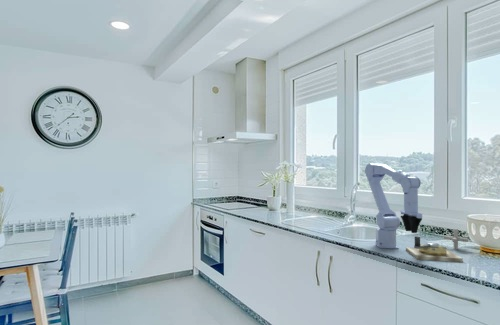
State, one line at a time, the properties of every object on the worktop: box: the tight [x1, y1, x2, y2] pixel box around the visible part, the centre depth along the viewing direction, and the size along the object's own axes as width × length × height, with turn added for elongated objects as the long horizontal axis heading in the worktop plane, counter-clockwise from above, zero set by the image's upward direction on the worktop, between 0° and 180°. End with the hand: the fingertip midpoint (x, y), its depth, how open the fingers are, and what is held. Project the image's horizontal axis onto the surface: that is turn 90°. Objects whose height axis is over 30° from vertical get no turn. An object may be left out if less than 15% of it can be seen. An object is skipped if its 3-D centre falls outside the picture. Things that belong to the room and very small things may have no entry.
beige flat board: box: [405, 246, 464, 263], centre depth 144 cm, size 18×16×2 cm
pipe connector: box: [443, 228, 469, 250], centre depth 156 cm, size 10×10×10 cm
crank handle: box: [413, 236, 448, 256], centre depth 143 cm, size 16×11×8 cm
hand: (411, 231), depth 146 cm, fingers open, 4 cm apart
